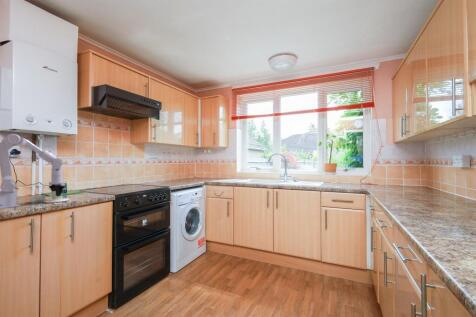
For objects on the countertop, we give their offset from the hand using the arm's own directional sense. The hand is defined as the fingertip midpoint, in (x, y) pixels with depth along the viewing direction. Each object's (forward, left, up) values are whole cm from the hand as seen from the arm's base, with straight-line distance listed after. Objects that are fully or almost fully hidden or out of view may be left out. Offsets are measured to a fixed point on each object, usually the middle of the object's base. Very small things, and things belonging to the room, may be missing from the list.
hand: (56, 195), depth 151 cm
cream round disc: (0, 0, -4) cm, 4 cm away
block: (0, 0, -2) cm, 2 cm away
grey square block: (-6, +10, -4) cm, 12 cm away
